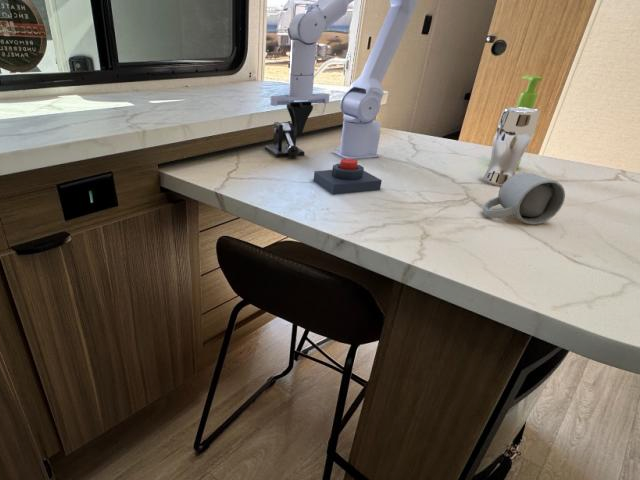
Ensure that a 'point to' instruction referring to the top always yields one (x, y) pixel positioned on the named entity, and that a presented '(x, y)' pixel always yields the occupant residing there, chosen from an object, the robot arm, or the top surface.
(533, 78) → the soap dispenser
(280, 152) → the switch bracket
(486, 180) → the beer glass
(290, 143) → the switch lever
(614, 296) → the top surface
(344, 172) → the control block
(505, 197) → the ceramic mug
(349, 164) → the button
